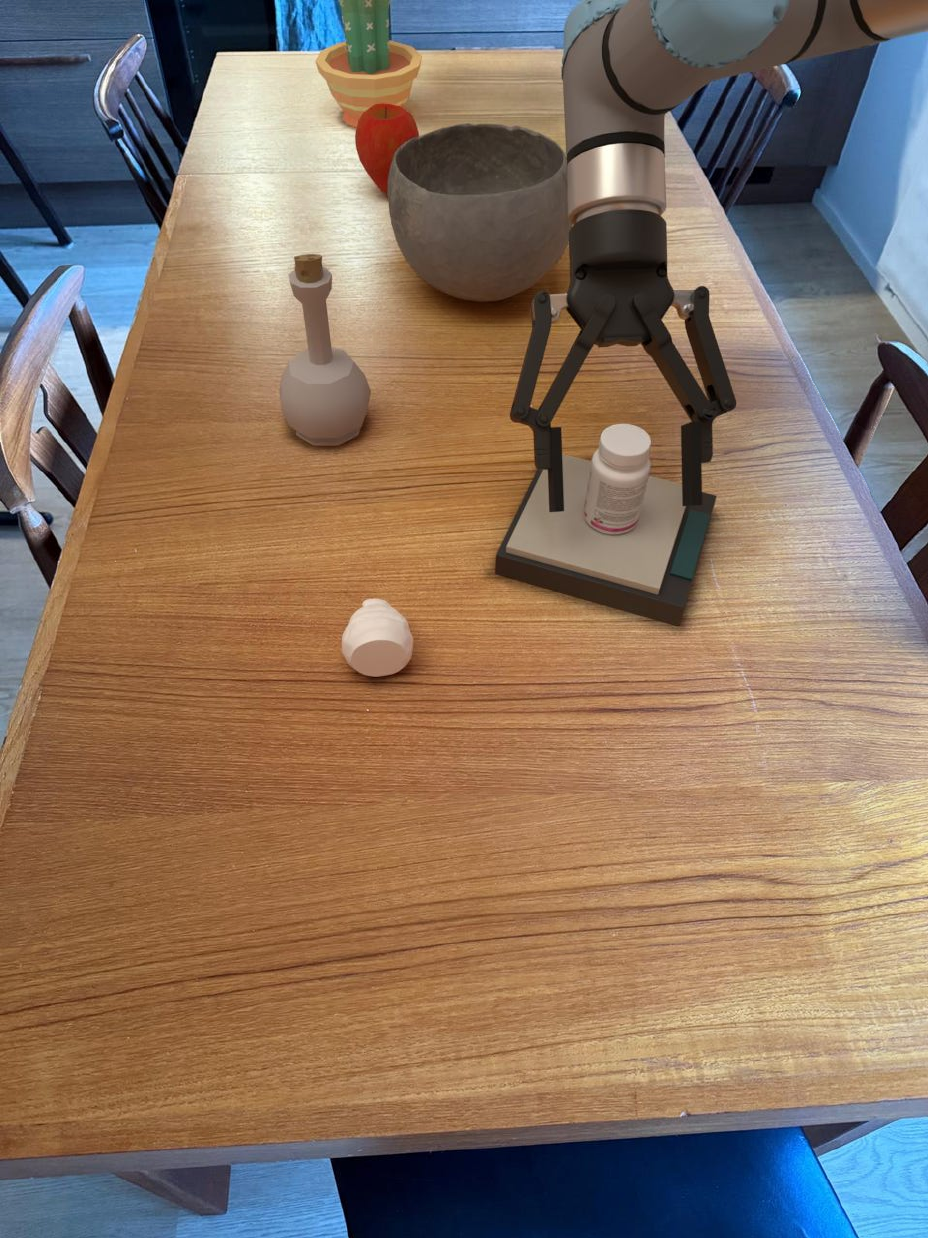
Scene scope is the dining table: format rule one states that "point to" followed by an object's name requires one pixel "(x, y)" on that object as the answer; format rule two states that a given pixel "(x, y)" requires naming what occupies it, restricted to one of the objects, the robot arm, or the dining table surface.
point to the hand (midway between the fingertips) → (624, 508)
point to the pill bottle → (618, 479)
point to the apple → (382, 139)
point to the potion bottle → (321, 368)
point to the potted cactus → (367, 61)
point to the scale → (608, 546)
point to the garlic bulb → (377, 639)
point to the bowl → (480, 208)
